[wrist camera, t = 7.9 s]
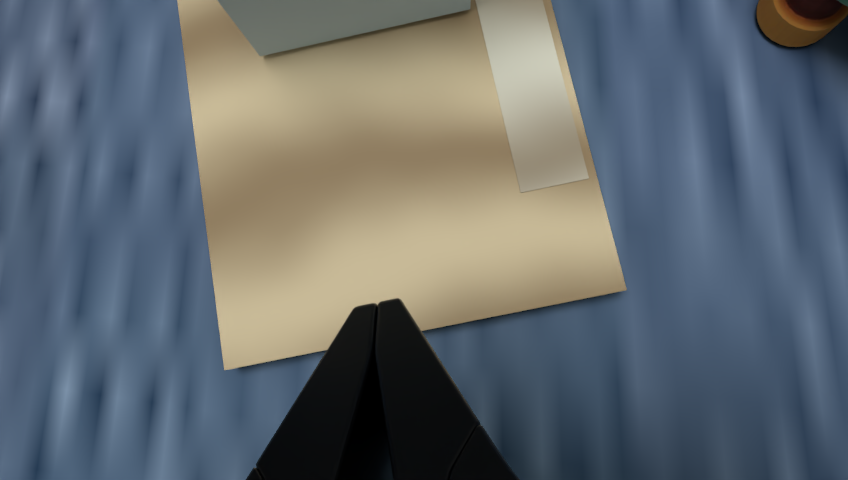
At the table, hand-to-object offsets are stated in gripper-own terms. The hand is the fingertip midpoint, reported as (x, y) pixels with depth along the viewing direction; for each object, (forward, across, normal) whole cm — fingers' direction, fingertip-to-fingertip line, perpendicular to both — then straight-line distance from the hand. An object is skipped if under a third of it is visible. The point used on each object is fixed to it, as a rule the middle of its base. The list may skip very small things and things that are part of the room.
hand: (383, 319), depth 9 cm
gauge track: (+15, 0, -2) cm, 15 cm away
